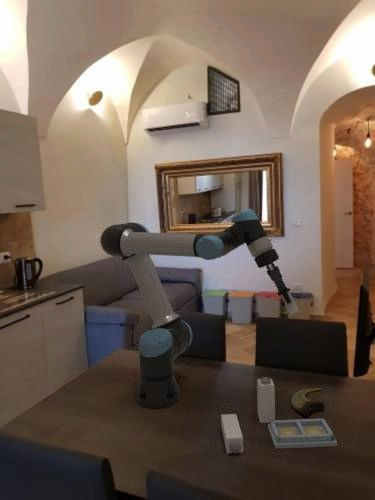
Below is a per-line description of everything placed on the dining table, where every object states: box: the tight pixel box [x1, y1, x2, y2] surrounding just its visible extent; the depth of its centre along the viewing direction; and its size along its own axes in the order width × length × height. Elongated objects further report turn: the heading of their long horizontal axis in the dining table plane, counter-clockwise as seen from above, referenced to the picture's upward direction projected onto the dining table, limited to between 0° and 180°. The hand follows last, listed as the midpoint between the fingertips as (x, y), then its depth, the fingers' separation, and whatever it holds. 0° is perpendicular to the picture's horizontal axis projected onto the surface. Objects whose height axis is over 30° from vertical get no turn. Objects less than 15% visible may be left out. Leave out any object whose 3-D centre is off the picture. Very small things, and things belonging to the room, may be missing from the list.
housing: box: [267, 418, 338, 450], centre depth 112 cm, size 17×10×3 cm, turn 90°
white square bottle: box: [256, 376, 276, 424], centre depth 121 cm, size 4×4×13 cm
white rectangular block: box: [220, 413, 244, 454], centre depth 111 cm, size 13×4×4 cm, turn 2°
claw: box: [290, 387, 325, 417], centre depth 131 cm, size 20×10×3 cm, turn 166°
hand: (295, 311), depth 123 cm, fingers open, 13 cm apart
